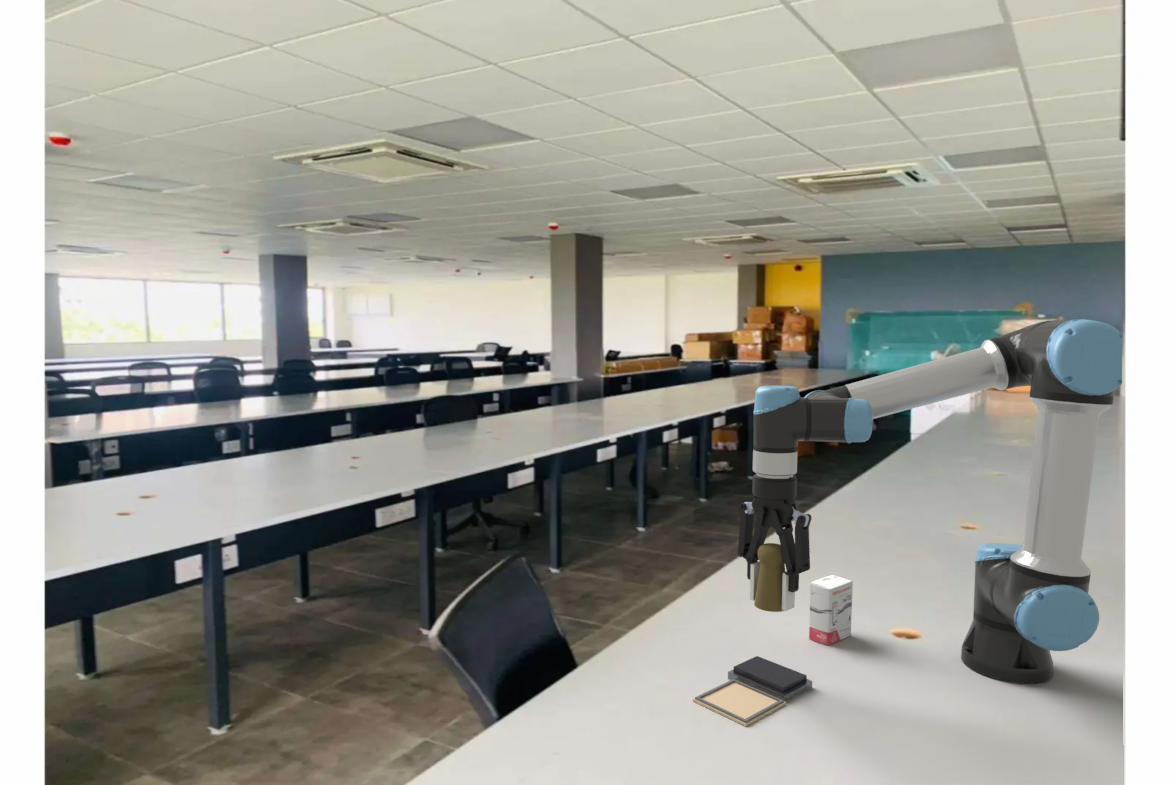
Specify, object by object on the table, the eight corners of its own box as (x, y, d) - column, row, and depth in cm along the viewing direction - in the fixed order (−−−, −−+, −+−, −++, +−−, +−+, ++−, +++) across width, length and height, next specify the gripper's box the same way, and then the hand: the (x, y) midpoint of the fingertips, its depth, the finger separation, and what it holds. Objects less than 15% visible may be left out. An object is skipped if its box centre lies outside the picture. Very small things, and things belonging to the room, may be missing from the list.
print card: (785, 704, 129) (786, 700, 129) (745, 726, 121) (745, 722, 121) (733, 681, 137) (733, 677, 137) (692, 701, 130) (693, 697, 130)
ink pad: (812, 687, 135) (812, 675, 135) (784, 702, 129) (784, 690, 129) (755, 664, 144) (756, 653, 144) (727, 678, 138) (728, 666, 138)
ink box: (828, 646, 152) (830, 588, 151) (807, 638, 156) (808, 582, 155) (852, 635, 158) (854, 579, 157) (831, 628, 162) (832, 573, 161)
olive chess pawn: (783, 599, 138) (784, 539, 137) (793, 611, 132) (795, 549, 131) (750, 599, 138) (751, 540, 137) (759, 612, 132) (760, 549, 131)
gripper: (835, 479, 129) (831, 613, 130) (743, 464, 143) (741, 585, 145) (810, 485, 124) (807, 624, 126) (717, 469, 138) (715, 594, 140)
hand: (771, 603), depth 135 cm, fingers closed on olive chess pawn, 6 cm apart
